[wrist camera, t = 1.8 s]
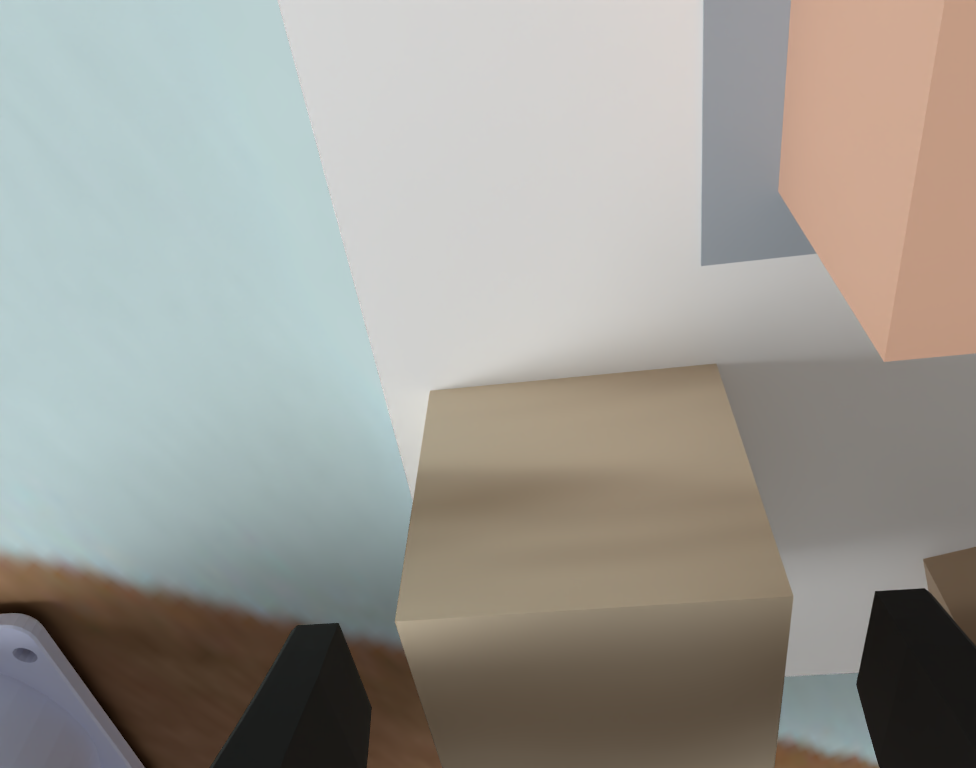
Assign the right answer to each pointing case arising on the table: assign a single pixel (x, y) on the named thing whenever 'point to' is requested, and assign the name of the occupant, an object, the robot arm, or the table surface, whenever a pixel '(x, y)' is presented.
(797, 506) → the mat
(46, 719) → the robot arm
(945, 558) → the block
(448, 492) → the maple block
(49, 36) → the table surface
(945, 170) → the terracotta block
